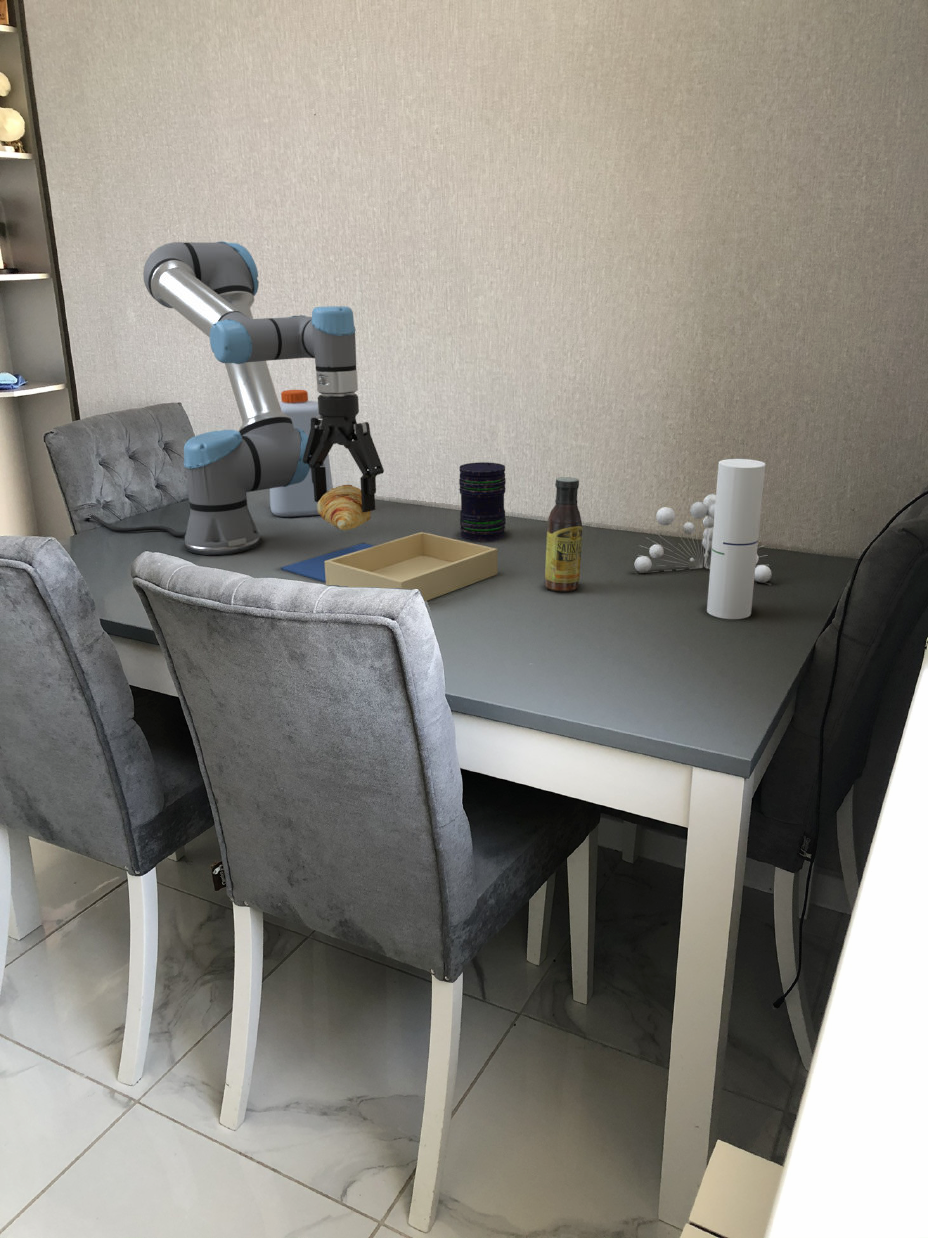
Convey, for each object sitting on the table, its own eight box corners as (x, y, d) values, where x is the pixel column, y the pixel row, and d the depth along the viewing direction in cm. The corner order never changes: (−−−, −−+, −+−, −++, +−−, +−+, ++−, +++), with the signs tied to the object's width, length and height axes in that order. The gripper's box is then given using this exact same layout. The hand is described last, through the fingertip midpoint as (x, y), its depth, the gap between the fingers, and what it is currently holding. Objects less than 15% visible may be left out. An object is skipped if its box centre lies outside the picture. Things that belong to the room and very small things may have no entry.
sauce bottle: (556, 595, 171) (559, 484, 164) (538, 585, 176) (539, 477, 169) (587, 589, 173) (591, 480, 167) (568, 580, 179) (571, 473, 172)
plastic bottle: (271, 519, 224) (261, 396, 214) (270, 504, 238) (260, 388, 228) (336, 515, 227) (329, 393, 217) (332, 500, 241) (324, 386, 231)
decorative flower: (609, 555, 193) (612, 485, 188) (713, 547, 198) (718, 479, 193) (658, 594, 170) (663, 516, 166) (774, 584, 175) (782, 508, 170)
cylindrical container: (743, 622, 157) (757, 469, 148) (700, 614, 160) (712, 465, 152) (756, 609, 163) (770, 461, 154) (714, 602, 166) (726, 457, 157)
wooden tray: (325, 587, 177) (324, 561, 175) (422, 555, 195) (421, 531, 193) (402, 610, 165) (401, 582, 163) (497, 574, 183) (497, 548, 181)
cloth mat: (280, 569, 187) (280, 567, 187) (363, 544, 203) (363, 542, 203) (329, 583, 179) (328, 581, 179) (411, 556, 194) (411, 554, 194)
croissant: (362, 551, 180) (381, 514, 178) (312, 529, 177) (331, 490, 175) (357, 520, 199) (374, 486, 197) (312, 499, 196) (329, 464, 194)
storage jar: (490, 544, 202) (490, 473, 197) (451, 538, 207) (449, 468, 202) (513, 533, 210) (514, 464, 205) (475, 527, 215) (474, 460, 210)
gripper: (279, 391, 185) (287, 500, 192) (369, 401, 169) (375, 519, 176) (309, 387, 190) (316, 493, 197) (399, 396, 174) (404, 511, 182)
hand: (344, 505), depth 187 cm, fingers closed on croissant, 13 cm apart
